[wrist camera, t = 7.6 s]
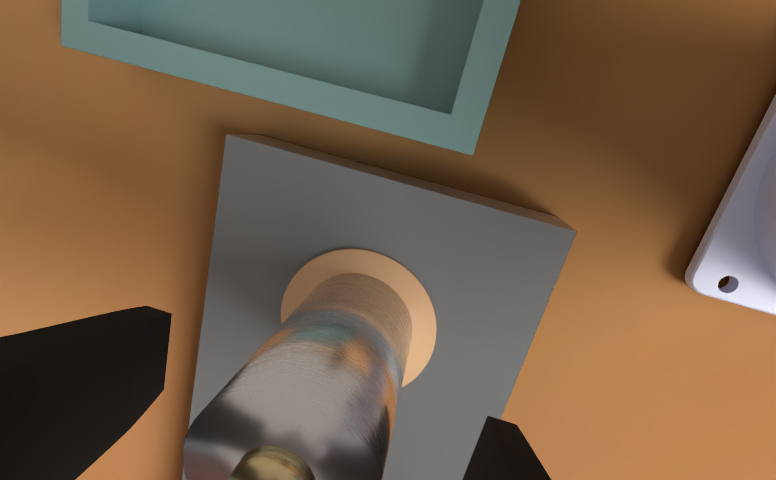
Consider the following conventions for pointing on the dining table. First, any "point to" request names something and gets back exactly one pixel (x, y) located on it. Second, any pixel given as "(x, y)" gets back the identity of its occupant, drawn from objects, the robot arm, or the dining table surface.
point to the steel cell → (311, 392)
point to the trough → (319, 55)
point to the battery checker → (392, 266)
